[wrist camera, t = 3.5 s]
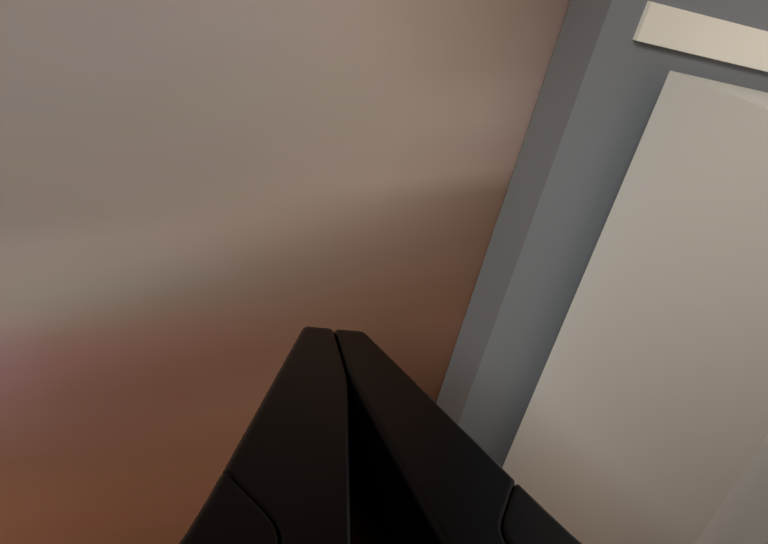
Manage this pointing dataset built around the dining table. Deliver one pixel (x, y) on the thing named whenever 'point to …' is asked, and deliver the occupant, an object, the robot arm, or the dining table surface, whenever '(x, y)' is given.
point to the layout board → (579, 185)
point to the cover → (666, 342)
